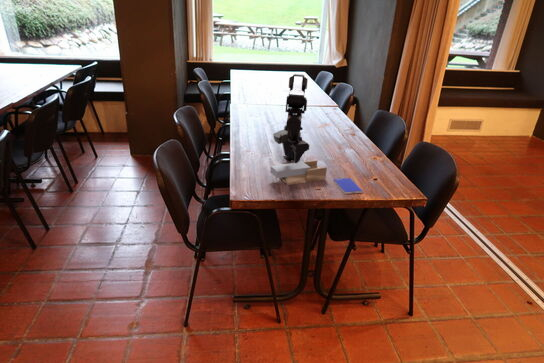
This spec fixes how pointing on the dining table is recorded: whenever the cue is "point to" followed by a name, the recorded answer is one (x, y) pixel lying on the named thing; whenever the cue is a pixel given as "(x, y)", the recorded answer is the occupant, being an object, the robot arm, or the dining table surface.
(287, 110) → the robot arm
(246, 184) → the dining table surface
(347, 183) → the hard drive
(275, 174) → the cover plate
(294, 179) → the birch box
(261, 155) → the dining table surface
